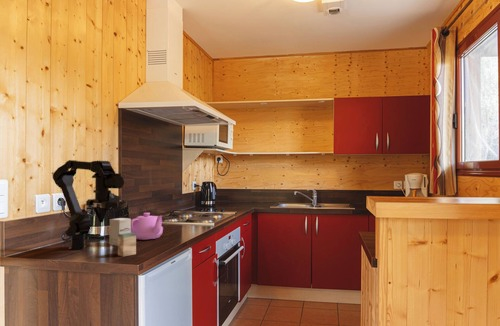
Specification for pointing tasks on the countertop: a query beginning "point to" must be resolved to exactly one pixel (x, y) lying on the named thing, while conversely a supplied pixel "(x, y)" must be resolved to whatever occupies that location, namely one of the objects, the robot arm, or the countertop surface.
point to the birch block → (126, 244)
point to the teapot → (147, 226)
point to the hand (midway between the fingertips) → (101, 222)
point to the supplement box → (118, 229)
